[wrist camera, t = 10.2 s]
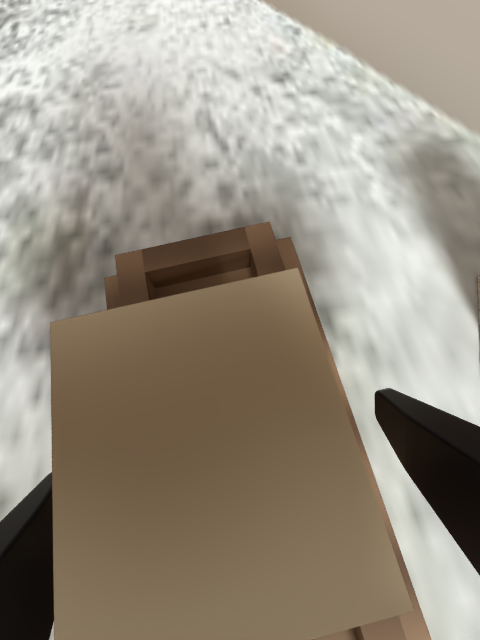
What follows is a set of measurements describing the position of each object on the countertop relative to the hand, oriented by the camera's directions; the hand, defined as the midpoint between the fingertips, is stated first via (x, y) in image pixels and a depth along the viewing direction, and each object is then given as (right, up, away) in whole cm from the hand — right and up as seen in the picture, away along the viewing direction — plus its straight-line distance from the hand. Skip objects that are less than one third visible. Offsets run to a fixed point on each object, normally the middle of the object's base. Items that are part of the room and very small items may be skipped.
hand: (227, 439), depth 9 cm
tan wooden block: (0, -3, +7) cm, 7 cm away
